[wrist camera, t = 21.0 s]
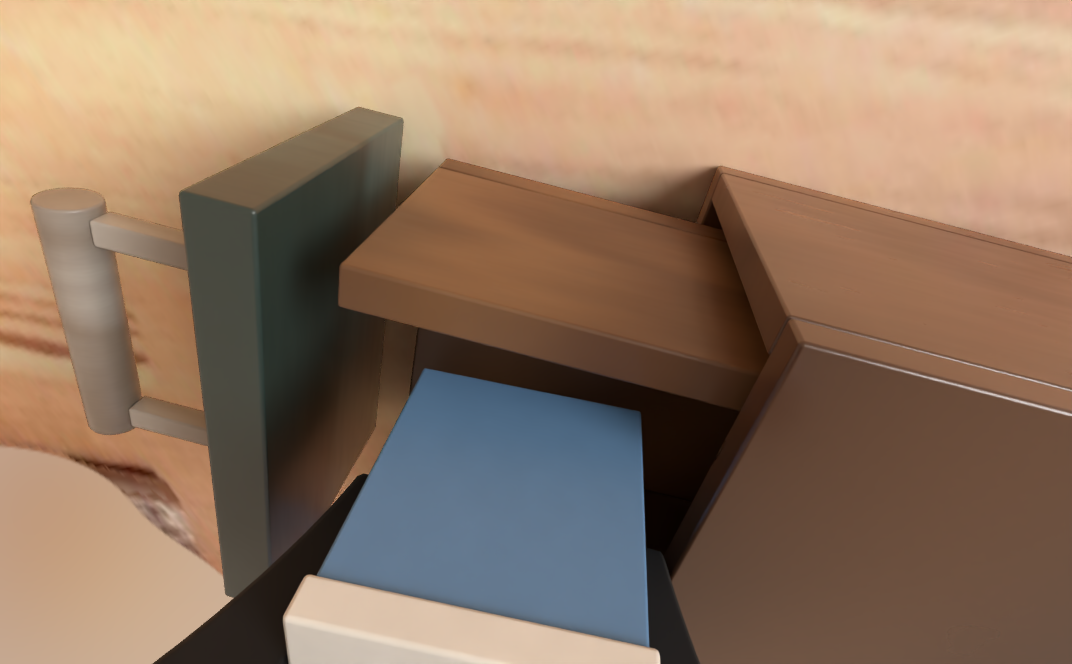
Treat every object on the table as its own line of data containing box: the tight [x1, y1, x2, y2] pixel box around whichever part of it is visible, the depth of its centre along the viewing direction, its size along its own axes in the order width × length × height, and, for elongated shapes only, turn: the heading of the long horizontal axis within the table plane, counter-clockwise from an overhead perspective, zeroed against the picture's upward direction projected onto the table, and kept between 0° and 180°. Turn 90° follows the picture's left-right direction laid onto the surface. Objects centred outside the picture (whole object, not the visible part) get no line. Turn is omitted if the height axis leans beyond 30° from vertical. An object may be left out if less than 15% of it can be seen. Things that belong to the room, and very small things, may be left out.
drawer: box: [30, 107, 770, 598], centre depth 14 cm, size 17×10×7 cm, turn 78°
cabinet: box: [664, 166, 1072, 664], centre depth 14 cm, size 13×11×8 cm
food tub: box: [283, 368, 660, 664], centre depth 10 cm, size 4×5×5 cm
